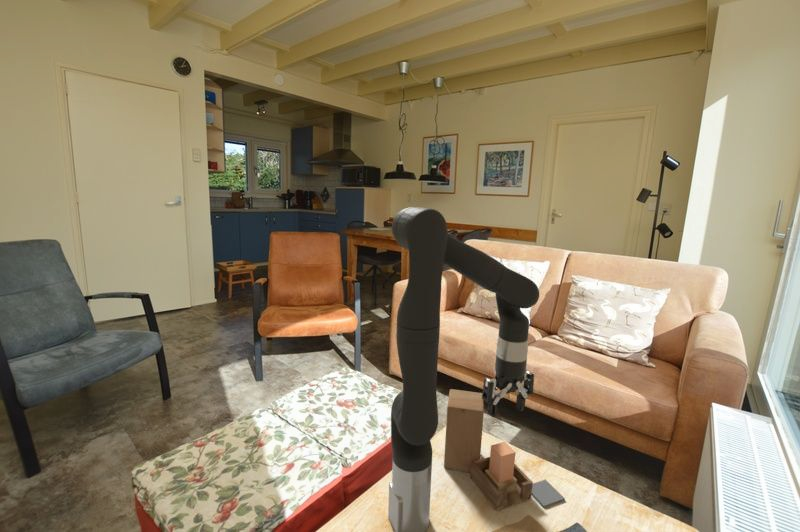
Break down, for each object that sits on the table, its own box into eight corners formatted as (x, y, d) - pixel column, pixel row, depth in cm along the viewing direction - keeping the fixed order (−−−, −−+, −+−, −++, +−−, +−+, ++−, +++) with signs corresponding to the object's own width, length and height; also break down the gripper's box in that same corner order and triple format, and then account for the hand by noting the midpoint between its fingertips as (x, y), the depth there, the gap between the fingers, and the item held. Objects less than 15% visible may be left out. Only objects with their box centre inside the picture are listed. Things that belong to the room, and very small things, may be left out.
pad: (543, 507, 97) (543, 505, 96) (525, 488, 103) (525, 486, 103) (564, 500, 99) (564, 498, 99) (545, 481, 105) (545, 479, 105)
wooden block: (478, 474, 107) (483, 411, 103) (443, 468, 109) (447, 406, 105) (478, 451, 117) (483, 392, 113) (446, 446, 119) (449, 388, 115)
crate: (496, 510, 95) (497, 493, 94) (470, 477, 106) (471, 461, 105) (530, 498, 99) (532, 482, 98) (502, 467, 110) (504, 452, 109)
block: (498, 483, 99) (501, 456, 97) (488, 471, 103) (491, 445, 102) (512, 478, 101) (515, 452, 99) (502, 467, 105) (504, 441, 103)
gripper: (496, 364, 89) (492, 426, 92) (544, 356, 94) (538, 415, 97) (479, 352, 96) (474, 410, 99) (524, 344, 101) (519, 400, 104)
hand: (506, 412), depth 98 cm, fingers open, 8 cm apart
